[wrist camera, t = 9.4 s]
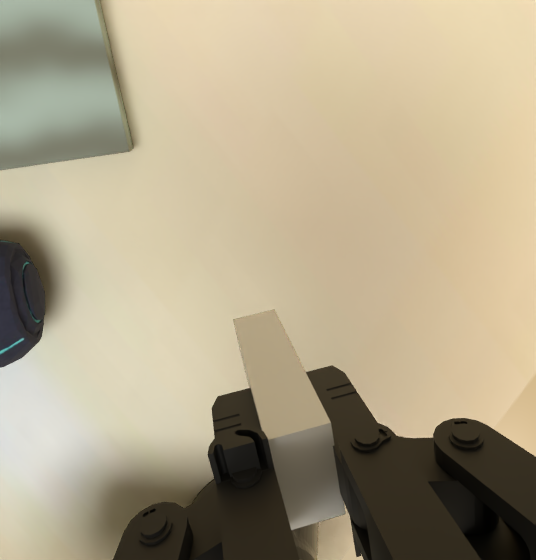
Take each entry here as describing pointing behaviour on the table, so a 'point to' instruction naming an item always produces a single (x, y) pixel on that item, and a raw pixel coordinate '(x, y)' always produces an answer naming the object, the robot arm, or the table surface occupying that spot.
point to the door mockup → (57, 84)
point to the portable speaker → (19, 303)
